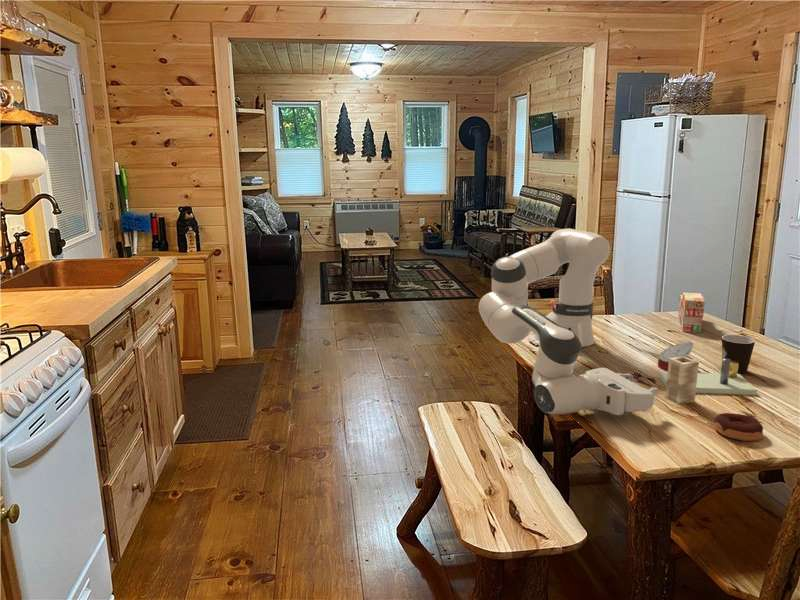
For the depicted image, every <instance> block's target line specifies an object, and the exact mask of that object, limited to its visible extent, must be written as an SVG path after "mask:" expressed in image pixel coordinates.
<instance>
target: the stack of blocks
mask: <svg viewBox="0 0 800 600" xmlns="http://www.w3.org/2000/svg"><path fill="white" fill-rule="evenodd" d="M678 302H679V304H678V321H679V324H680V328H681V331H682V333H693V334H696V333H697V334H701V333H702V328H703V326H702V325H703V318H704V311H705V304H706V303H705V302H706V301H705V298H704V296H702V294H701V293H700V292H698V293H697V292H682V294H680V295H679V301H678Z"/></svg>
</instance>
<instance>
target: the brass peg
mask: <svg viewBox="0 0 800 600" xmlns="http://www.w3.org/2000/svg"><path fill="white" fill-rule="evenodd" d="M738 365H739V363H738V362H735V361H731V362H730V370H729V378H737V373H738Z"/></svg>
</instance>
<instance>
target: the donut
mask: <svg viewBox="0 0 800 600" xmlns="http://www.w3.org/2000/svg"><path fill="white" fill-rule="evenodd" d="M713 428H714V430H716V431H717V432H718V433H719V434H721V435H723V436H725V437H727V438H730V439H734V440H738V441H741V442H742V441H745V442H757V441H759V440H761V439H762V438H763V437H764V433H763V431H764V426H763V425H762V423H761V422H760V421H759V420H758V419H756V418H754V417H753V416H751V415H746V414H739V413H733V412H732V413H731V412H722V413H718V415H717V416H715V418H714V420H713Z"/></svg>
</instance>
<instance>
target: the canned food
mask: <svg viewBox="0 0 800 600" xmlns="http://www.w3.org/2000/svg"><path fill="white" fill-rule="evenodd" d="M693 346H694V343H693V342H691V341H683V342H679V343H676V344H675V345H671V346H669V347H668V348H667V347H666V348H665V349H664V350H663V351H660V354H659V355H658V356H657V359H658V360H657V367H658V369H660V370H661V371H666V372H668V364H669V358H675V357H682V356H685V357H688V358H690V359H693V358H692V357H690V356H689V355H690V353H691V352H692V350H693Z"/></svg>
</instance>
